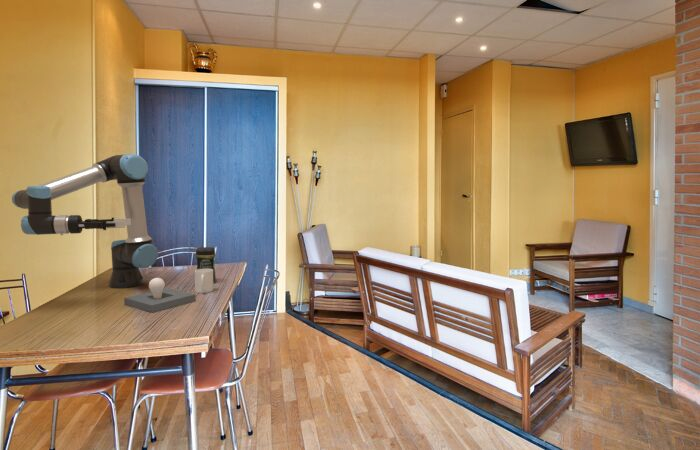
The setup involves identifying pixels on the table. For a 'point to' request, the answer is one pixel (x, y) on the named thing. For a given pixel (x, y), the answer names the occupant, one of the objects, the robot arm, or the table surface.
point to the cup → (204, 280)
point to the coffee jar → (206, 259)
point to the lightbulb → (156, 287)
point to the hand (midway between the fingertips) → (128, 223)
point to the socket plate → (159, 300)
